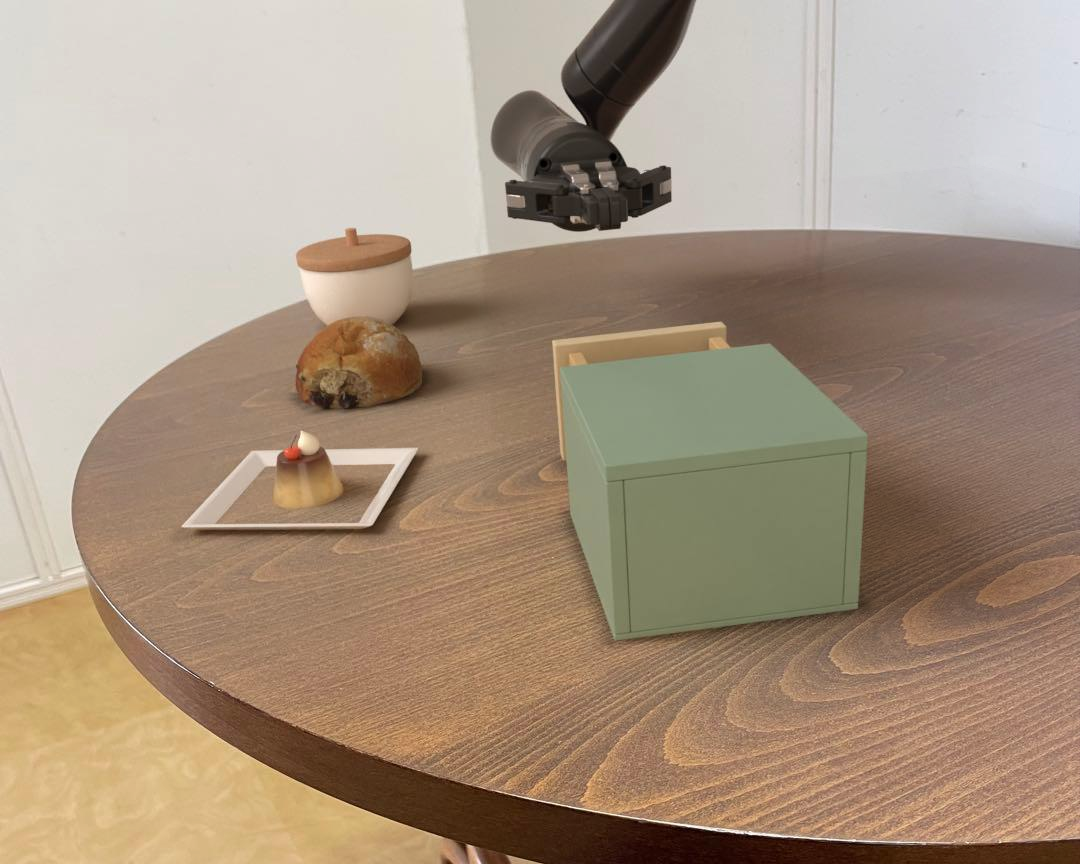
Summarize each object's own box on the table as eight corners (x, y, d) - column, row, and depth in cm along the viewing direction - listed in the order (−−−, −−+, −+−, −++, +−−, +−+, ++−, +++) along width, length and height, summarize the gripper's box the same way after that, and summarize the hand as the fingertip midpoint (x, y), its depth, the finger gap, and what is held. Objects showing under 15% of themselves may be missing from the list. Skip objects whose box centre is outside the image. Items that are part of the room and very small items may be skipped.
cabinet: (570, 520, 67) (559, 366, 63) (768, 496, 68) (770, 342, 64) (615, 649, 54) (604, 466, 50) (858, 617, 55) (868, 434, 51)
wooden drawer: (551, 432, 78) (543, 322, 75) (706, 414, 79) (704, 304, 75) (594, 545, 62) (586, 412, 59) (786, 521, 63) (789, 389, 60)
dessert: (184, 543, 69) (166, 471, 66) (255, 465, 79) (241, 400, 77) (374, 542, 67) (362, 468, 65) (420, 462, 77) (412, 396, 75)
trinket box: (415, 339, 104) (401, 236, 100) (300, 348, 104) (281, 246, 100) (425, 308, 113) (413, 213, 109) (319, 316, 114) (303, 222, 110)
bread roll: (437, 436, 91) (459, 338, 90) (334, 419, 84) (357, 313, 83) (364, 411, 98) (384, 320, 97) (263, 394, 90) (283, 295, 89)
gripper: (486, 132, 88) (507, 165, 73) (651, 117, 90) (707, 146, 74) (494, 229, 92) (516, 280, 77) (654, 213, 93) (707, 260, 78)
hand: (610, 214), depth 75 cm, fingers closed
